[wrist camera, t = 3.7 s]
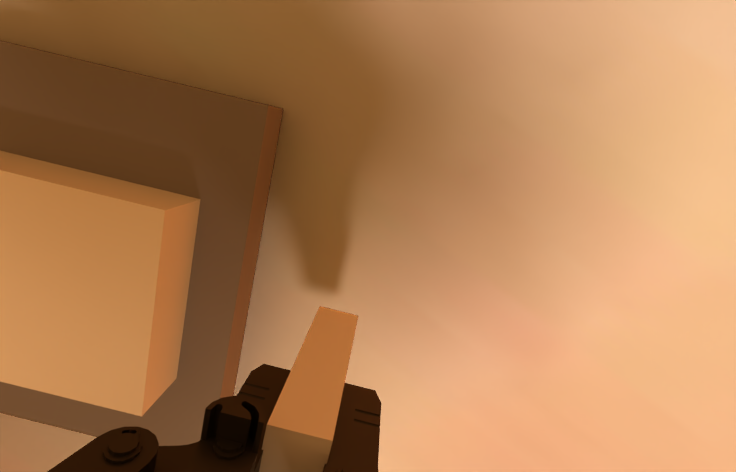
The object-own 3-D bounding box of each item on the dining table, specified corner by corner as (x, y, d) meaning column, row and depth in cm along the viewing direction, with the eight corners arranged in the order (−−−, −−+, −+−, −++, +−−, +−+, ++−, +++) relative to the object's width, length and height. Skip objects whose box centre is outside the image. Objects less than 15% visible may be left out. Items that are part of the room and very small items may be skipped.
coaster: (176, 378, 18) (142, 416, 15) (-3, 334, 18) (-66, 365, 15) (200, 199, 16) (164, 210, 13) (-1, 150, 16) (-72, 152, 13)
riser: (226, 433, 21) (208, 464, 19) (-24, 372, 21) (-67, 396, 19) (283, 109, 17) (268, 105, 15) (-24, 35, 17) (-79, 21, 15)
